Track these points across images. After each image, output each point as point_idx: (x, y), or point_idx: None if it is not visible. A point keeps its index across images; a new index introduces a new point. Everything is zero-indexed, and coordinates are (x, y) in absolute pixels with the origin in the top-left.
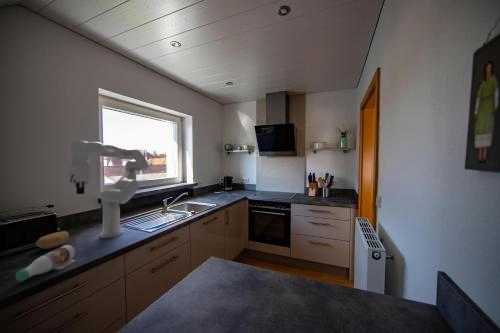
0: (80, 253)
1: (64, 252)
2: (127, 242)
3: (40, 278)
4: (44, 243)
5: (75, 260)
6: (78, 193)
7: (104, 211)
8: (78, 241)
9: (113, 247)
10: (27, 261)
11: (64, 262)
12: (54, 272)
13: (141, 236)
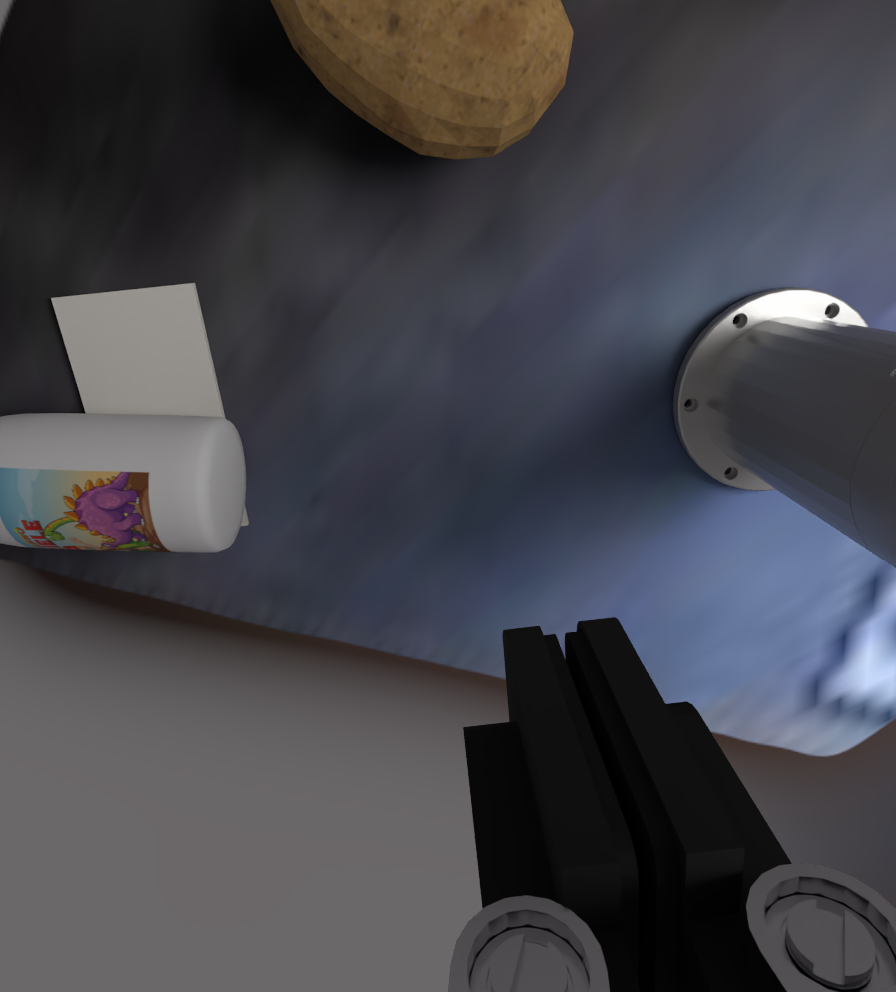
0: (353, 455)
1: (138, 549)
2: None
3: None
4: (298, 53)
5: (247, 524)
6: (509, 698)
7: (890, 458)
8: (579, 194)
9: (490, 617)
10: (130, 134)
11: None
12: None
13: (718, 680)
